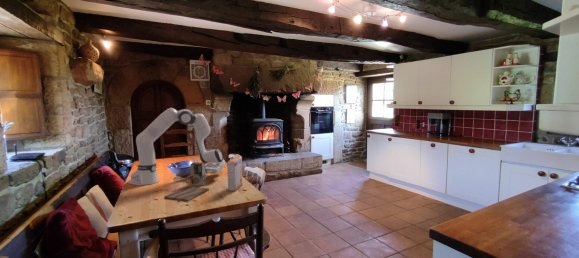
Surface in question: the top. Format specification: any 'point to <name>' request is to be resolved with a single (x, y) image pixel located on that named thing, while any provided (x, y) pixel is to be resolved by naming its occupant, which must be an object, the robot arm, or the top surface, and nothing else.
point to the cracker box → (234, 174)
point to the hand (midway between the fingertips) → (201, 172)
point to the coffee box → (198, 174)
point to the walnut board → (187, 193)
